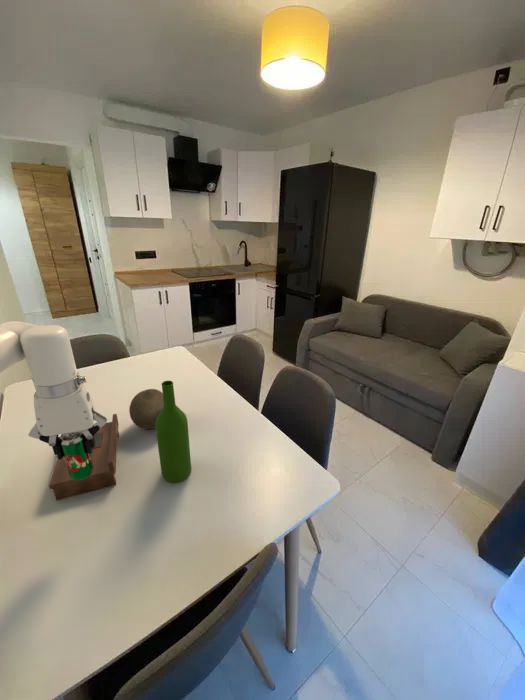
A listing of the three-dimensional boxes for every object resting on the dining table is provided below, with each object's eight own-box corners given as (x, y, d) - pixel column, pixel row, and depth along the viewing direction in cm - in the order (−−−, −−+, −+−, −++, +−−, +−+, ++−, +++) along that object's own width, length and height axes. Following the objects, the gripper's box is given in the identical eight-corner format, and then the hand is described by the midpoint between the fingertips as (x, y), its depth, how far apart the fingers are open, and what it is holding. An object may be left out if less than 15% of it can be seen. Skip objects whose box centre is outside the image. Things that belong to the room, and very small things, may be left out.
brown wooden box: (54, 501, 80) (45, 477, 77) (70, 443, 101) (63, 423, 97) (117, 484, 86) (112, 462, 82) (120, 433, 106) (116, 413, 103)
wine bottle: (192, 459, 96) (185, 374, 83) (190, 481, 88) (183, 390, 75) (164, 462, 95) (152, 375, 81) (160, 485, 87) (146, 392, 73)
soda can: (85, 462, 73) (75, 424, 68) (98, 470, 71) (89, 431, 66) (65, 476, 69) (53, 436, 64) (78, 485, 67) (67, 444, 62)
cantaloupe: (128, 440, 103) (122, 405, 97) (136, 416, 116) (130, 383, 110) (169, 436, 106) (166, 401, 100) (172, 412, 119) (169, 381, 113)
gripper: (106, 371, 66) (118, 434, 73) (14, 381, 60) (37, 449, 67) (102, 388, 60) (116, 455, 67) (-1, 401, 54) (26, 473, 61)
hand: (76, 451), depth 67 cm, fingers closed on soda can, 5 cm apart
